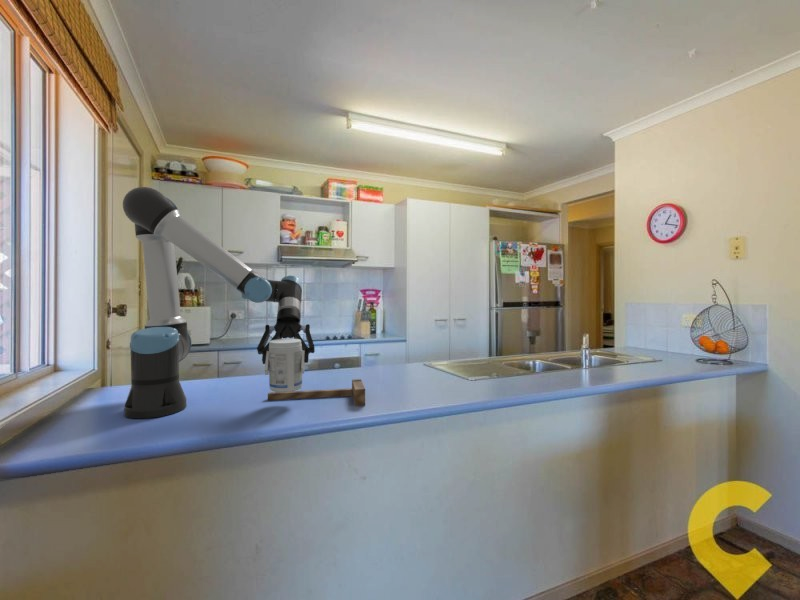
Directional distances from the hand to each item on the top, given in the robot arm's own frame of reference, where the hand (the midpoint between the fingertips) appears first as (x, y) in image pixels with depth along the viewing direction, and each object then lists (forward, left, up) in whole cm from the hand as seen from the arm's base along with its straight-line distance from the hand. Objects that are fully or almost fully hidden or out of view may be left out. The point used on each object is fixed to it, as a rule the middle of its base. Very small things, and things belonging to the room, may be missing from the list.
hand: (284, 371), depth 112 cm
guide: (+9, +4, -11) cm, 15 cm away
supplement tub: (0, +3, -6) cm, 7 cm away
